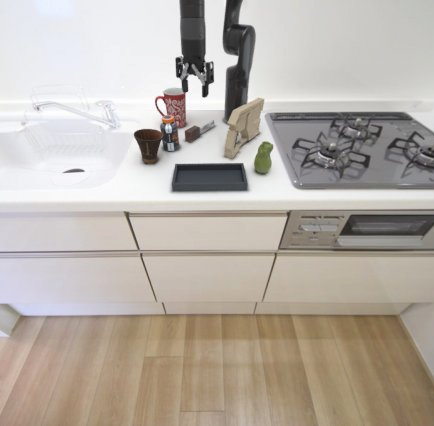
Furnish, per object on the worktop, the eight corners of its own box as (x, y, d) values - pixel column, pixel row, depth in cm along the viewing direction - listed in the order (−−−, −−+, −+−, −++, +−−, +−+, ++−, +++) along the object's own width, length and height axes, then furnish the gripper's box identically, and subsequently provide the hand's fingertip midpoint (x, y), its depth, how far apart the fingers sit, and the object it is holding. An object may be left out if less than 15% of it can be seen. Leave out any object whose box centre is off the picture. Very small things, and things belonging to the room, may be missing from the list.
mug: (187, 119, 105) (185, 86, 96) (188, 128, 99) (186, 94, 89) (158, 121, 104) (153, 88, 95) (158, 130, 98) (152, 95, 88)
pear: (258, 164, 79) (263, 136, 72) (273, 170, 76) (279, 141, 69) (249, 172, 76) (253, 143, 69) (264, 178, 73) (269, 149, 66)
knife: (211, 125, 101) (211, 116, 98) (216, 126, 100) (216, 117, 97) (185, 140, 91) (184, 130, 88) (190, 142, 90) (189, 132, 87)
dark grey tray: (172, 191, 69) (171, 184, 67) (176, 170, 77) (175, 163, 75) (246, 190, 69) (247, 183, 67) (242, 169, 77) (243, 162, 75)
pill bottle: (176, 152, 85) (173, 121, 77) (161, 150, 86) (156, 120, 78) (181, 144, 89) (178, 114, 81) (166, 143, 90) (162, 112, 82)
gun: (230, 160, 80) (236, 115, 71) (222, 158, 82) (226, 113, 72) (258, 138, 97) (265, 98, 87) (251, 136, 98) (257, 96, 88)
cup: (171, 160, 81) (168, 132, 74) (149, 170, 77) (143, 142, 70) (157, 150, 86) (152, 123, 79) (135, 160, 81) (128, 132, 74)
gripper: (219, 37, 70) (218, 95, 81) (183, 33, 76) (186, 88, 87) (204, 40, 65) (204, 101, 76) (167, 35, 71) (172, 93, 83)
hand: (195, 94), depth 82 cm, fingers open, 8 cm apart
